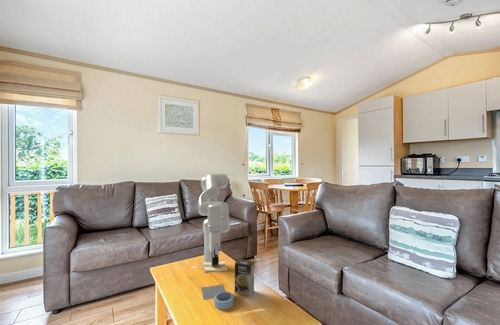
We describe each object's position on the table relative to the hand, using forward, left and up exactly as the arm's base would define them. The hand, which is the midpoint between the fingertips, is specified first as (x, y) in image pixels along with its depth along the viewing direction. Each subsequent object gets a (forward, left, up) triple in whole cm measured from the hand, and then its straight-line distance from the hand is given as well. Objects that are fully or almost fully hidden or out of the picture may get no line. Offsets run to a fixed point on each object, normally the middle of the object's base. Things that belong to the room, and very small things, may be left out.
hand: (214, 262), depth 123 cm
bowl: (+11, +3, -16) cm, 20 cm away
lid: (0, 0, -2) cm, 2 cm away
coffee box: (+3, +15, -17) cm, 23 cm away
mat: (-1, 0, -16) cm, 16 cm away
